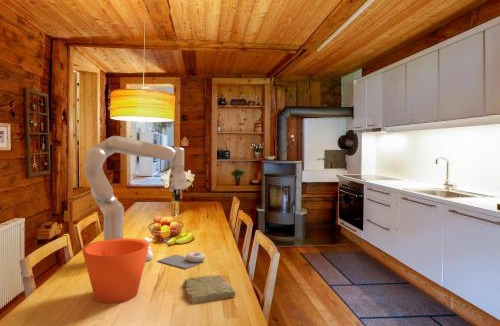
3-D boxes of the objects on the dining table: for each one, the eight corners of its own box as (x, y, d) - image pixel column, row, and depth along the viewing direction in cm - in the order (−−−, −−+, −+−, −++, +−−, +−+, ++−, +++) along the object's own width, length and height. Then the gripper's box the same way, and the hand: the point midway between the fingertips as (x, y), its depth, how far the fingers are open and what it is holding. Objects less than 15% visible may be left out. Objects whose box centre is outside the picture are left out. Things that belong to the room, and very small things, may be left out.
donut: (183, 259, 187) (189, 264, 178) (183, 252, 187) (189, 257, 178) (200, 256, 192) (208, 261, 183) (200, 250, 192) (208, 254, 183)
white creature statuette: (146, 255, 193) (146, 234, 193) (158, 258, 189) (158, 236, 189) (132, 260, 185) (133, 237, 184) (145, 263, 181) (145, 240, 180)
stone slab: (220, 280, 160) (220, 273, 160) (236, 298, 142) (236, 289, 142) (179, 286, 153) (179, 278, 153) (190, 305, 134) (190, 296, 134)
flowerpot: (160, 294, 143) (161, 246, 142) (100, 315, 124) (100, 260, 123) (129, 278, 160) (129, 235, 159) (71, 295, 141) (71, 246, 140)
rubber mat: (185, 269, 173) (185, 268, 173) (157, 261, 184) (157, 260, 183) (203, 262, 184) (203, 261, 184) (175, 255, 194) (175, 254, 194)
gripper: (172, 169, 193) (172, 203, 194) (191, 168, 206) (190, 199, 207) (163, 169, 197) (162, 201, 198) (181, 168, 210) (181, 198, 211)
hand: (177, 200), depth 202 cm, fingers closed
